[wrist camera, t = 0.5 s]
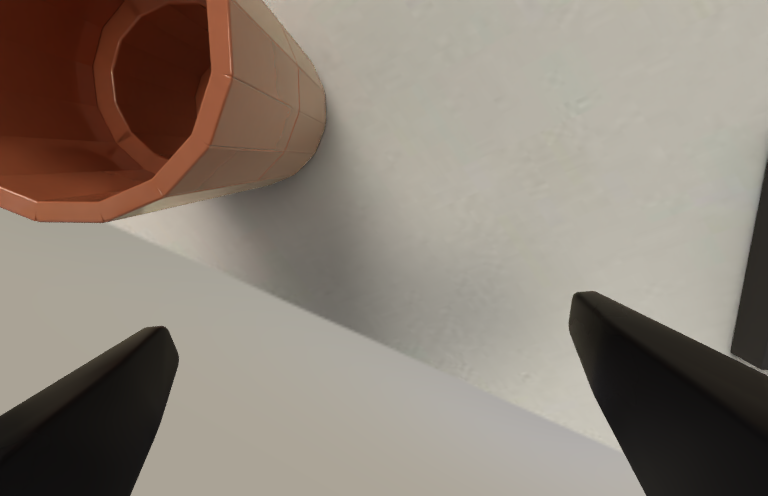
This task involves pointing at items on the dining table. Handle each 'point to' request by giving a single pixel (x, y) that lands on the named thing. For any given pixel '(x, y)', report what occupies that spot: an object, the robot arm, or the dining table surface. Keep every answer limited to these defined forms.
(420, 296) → the dining table surface
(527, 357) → the dining table surface
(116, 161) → the orange faceted cup
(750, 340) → the scale
